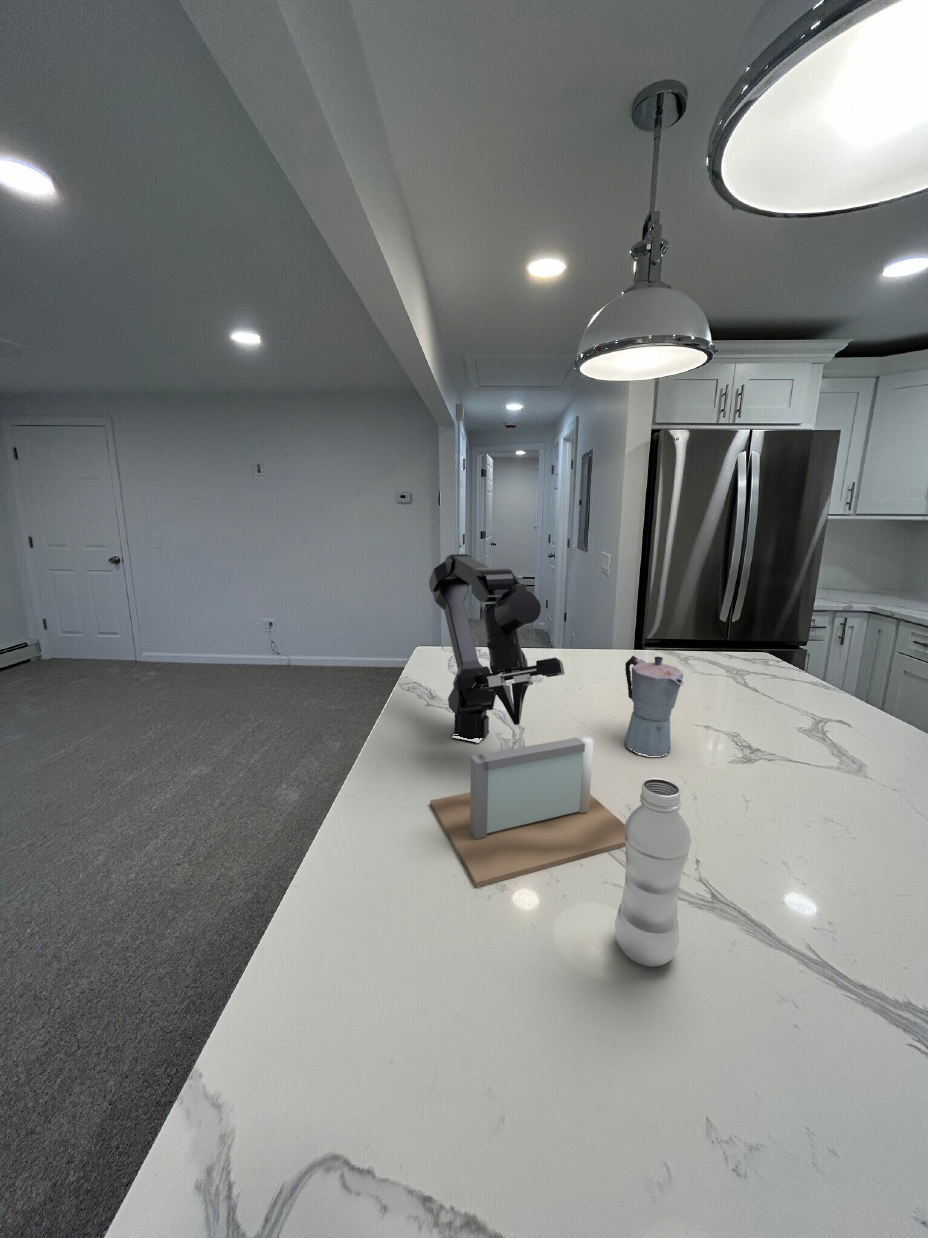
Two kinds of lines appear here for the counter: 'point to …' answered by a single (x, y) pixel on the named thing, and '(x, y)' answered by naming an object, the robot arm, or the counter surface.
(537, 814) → the light blue panel
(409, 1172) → the counter surface
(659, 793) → the plastic bottle
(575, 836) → the walnut board
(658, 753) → the moka pot
